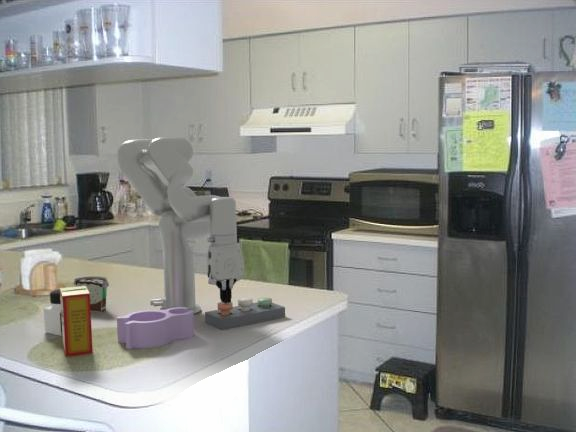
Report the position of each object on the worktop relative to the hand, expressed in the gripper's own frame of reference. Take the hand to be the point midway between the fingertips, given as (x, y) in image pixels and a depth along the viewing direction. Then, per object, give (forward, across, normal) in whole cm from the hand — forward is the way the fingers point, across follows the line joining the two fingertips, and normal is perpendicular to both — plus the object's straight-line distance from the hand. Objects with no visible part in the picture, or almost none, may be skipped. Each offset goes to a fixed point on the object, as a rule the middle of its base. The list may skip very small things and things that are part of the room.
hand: (226, 301), depth 193 cm
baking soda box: (+7, -43, +4) cm, 43 cm away
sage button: (+6, +14, +1) cm, 15 cm away
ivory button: (+5, +7, 0) cm, 9 cm away
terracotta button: (+5, 0, 0) cm, 5 cm away
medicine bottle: (+6, -41, +22) cm, 47 cm away
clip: (+7, -22, -1) cm, 23 cm away
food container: (+6, -24, +40) cm, 48 cm away
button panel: (+7, +7, 0) cm, 10 cm away
